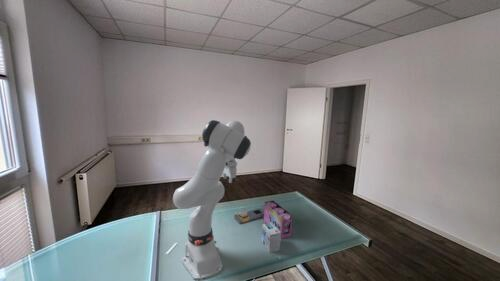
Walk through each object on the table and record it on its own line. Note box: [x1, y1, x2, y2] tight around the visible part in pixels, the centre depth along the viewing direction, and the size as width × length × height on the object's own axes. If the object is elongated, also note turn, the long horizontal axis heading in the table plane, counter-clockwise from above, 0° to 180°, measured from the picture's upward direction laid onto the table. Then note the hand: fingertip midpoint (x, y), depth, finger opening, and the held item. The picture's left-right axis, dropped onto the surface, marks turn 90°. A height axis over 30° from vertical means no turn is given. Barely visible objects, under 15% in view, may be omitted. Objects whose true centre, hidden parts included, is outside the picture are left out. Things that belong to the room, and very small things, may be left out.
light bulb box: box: [261, 223, 282, 254], centre depth 109 cm, size 11×7×11 cm, turn 21°
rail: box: [233, 208, 264, 225], centre depth 139 cm, size 8×22×3 cm, turn 120°
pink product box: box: [263, 200, 293, 239], centre depth 127 cm, size 24×8×14 cm, turn 24°
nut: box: [238, 208, 248, 218], centre depth 136 cm, size 4×4×6 cm
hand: (227, 180), depth 135 cm, fingers open, 8 cm apart
